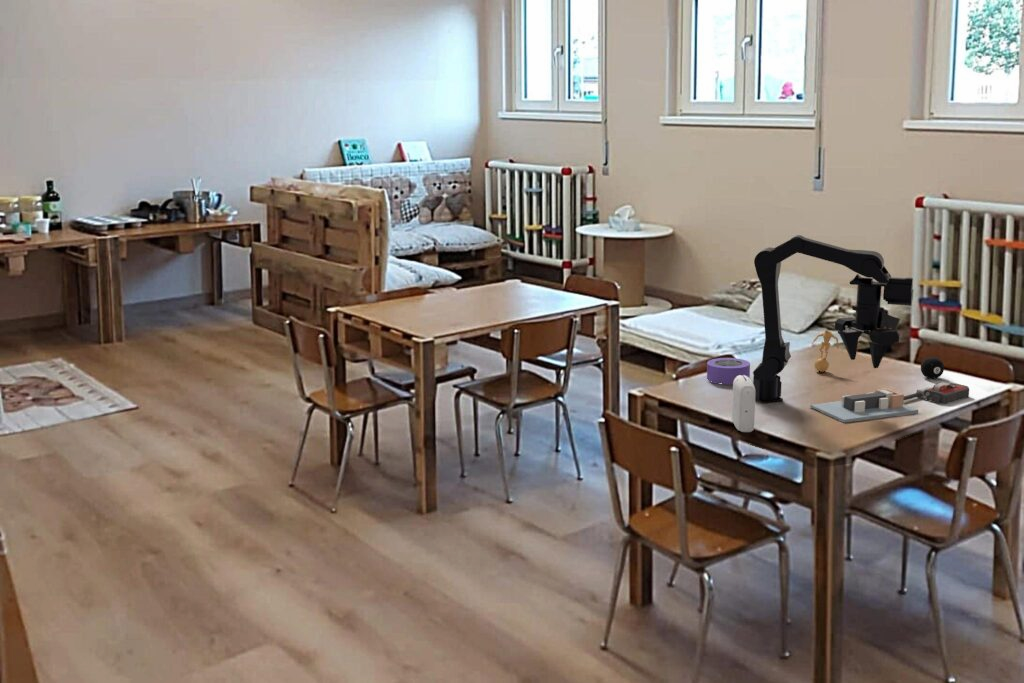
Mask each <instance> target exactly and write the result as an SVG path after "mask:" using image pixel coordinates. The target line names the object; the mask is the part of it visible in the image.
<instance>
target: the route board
mask: <svg viewBox="0 0 1024 683" xmlns="http://www.w3.org/2000/svg"><path fill="white" fill-rule="evenodd" d="M867 393H868V392H866V393H865V394H867ZM871 393H875V391H874V392H871ZM845 396H846V395H842V396H841V400H839V401H837V400H836V401H830V402H824V403H823V402H822V403H814V404H810V406H809V408H810V407H811V408H810V409H812V408H814V409H816V410H818V411H821V412H823V413H825V414H827V415H829V416H828V417H830V416H831V417H830V418H832V417H834V418H835V420H836V419H838V420H837V421H838V422H841V423H843V422H844V423H843V424H846V423H852V422H853V421H854V422H860V421H861V422H862V421H868V420H874V419H876V420H877V419H883V418H890V417H899V416H904V415H912V414H918V413H919V409H917V408H915V407H912V406H910V405H908V404H907V405H906V404H904V403H903V407H898V408H890V406H888V400H889V398H879V407H878V408H870V409H865V401H855V408H854V411H850V410H848V409H846V408H844V399H845ZM847 396H851V395H847ZM814 409H813V410H814ZM816 410H815V411H816ZM818 411H817V412H818ZM821 412H820V413H821ZM823 413H822V414H823ZM825 414H824V415H825ZM827 415H826V416H827ZM834 418H833V419H834ZM845 422H846V423H845Z"/></svg>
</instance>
